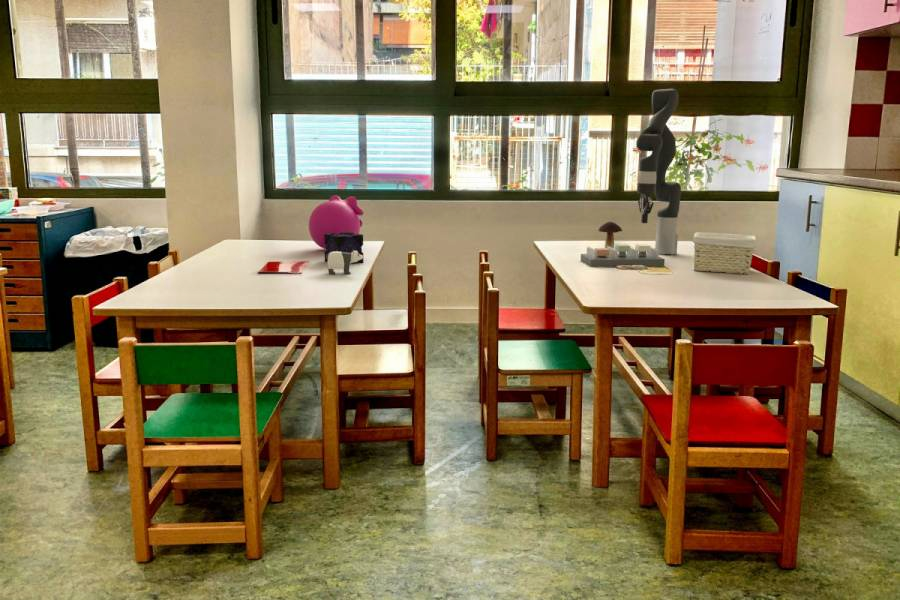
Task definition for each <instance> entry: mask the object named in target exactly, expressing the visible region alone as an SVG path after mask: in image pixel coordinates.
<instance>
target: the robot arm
mask: <svg viewBox="0 0 900 600" xmlns="http://www.w3.org/2000/svg"><path fill="white" fill-rule="evenodd" d="M651 94H652V95H651V109H652V117H651V118H650V119H649V121H648V122H647V125H646V127H645V128H644V129H643V130H642V132H640V134H639V135H638V136H637V138H636V143H635V144H636V148H637V149H638V150H639V151H640V152H651V153H650V155H648V156H643V157H641V158H640V159H639V166H638V167H639V168H638V169H639V170H638V176H637V188H636V189H637V193H638V194H639V195H640V199H638V200H637V202H638V203H637V204H638V208H639V209H638V210H639V213H640V214H641V218H640V219H641V223H642V224H647V223H648V220H649V219H648V216H649V214H651V212H652V210H653V206H654V202H653V201H652V200H653V199H652V195H655V199H656V200H657V201H658V202H661V203H663V202H664V203H668V206H666V207H665V208H662V209H659V210H658V211H657V217H656V229H655V231H656V232H655V243H654V245H655V246H654V247H655V248H654V249H657V250H659V255H665V254H671V255H677V254H678V253H677V252H678V244H679V241H678V239H679V233H677V230H678V217H679V212H680V203H681V197H682V186H681V184H680V183H679V182H674V181H666V174H667V171H668V169H669V167H670V165H671V164H672V162H673V161H674V159H675V156H676V154H677V153H676V152H677V149H676V147H677V145H676V137H675V135H674V134H673V132H672V130H671V129H670V128H669V127H668V125H667V123H668V121H669V119H671V117H672V116H673V114H674V112H675V111H676V110H677V107H678V106H679V105H678V104H679V98H680V97H679V93H678V90H677V89H674V88H666V89H655V90H653V92H652V93H651Z"/></svg>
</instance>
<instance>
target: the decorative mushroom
mask: <svg viewBox="0 0 900 600" xmlns="http://www.w3.org/2000/svg"><path fill="white" fill-rule="evenodd" d="M597 231H598V232H600V233H601V232H602V233H606V236H605V243H604V248H607V247H611V248H614V249H615V238H614V236H615V235H614V234H615V233H619V232H623V229H622V227H621V226H619V224H617V223H616V222H613V221H608V222H605V223H604V224H602V225H601V226H600V227H599V228H598V230H597Z"/></svg>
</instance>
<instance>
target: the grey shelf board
mask: <svg viewBox="0 0 900 600" xmlns="http://www.w3.org/2000/svg"><path fill="white" fill-rule="evenodd" d="M607 249H609V256H605V257H598V255H597V250H595V248H593V247H591V246H587V247H586V253H580V261H581V262H582V263H584V264H586V265H587V266H589V267H593V268H594V267H595V268H599V267H600V268H601V267H605V268H606V267H607V268H608V267H609V268H610V267H615V268H616V266H619V265H629V266H632V265H642V266H646V267H665V262H666V261H665V258H662V257H660V256H659V255H660V254H659V250H657V249H655V248H654V247H652V246H651V249H650V252H646V256H639V251H638V250H636V249H635V247H631V246H630V252H626V256H619V252H618V250H616V249H615V247H614V248H611V247H607Z"/></svg>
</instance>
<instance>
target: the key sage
mask: <svg viewBox="0 0 900 600" xmlns="http://www.w3.org/2000/svg"><path fill="white" fill-rule="evenodd" d="M630 247H631V245H629V244H626V243H616V244H615V243H614V249H616V250H618V254H619V256H626V254H627V252H630Z"/></svg>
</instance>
